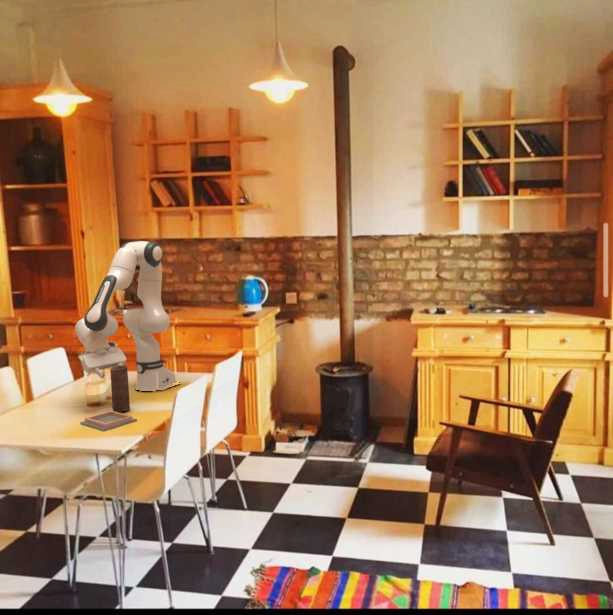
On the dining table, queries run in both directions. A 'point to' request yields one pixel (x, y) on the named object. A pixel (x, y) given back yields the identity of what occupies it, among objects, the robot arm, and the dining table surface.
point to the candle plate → (108, 420)
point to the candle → (120, 388)
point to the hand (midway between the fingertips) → (112, 374)
